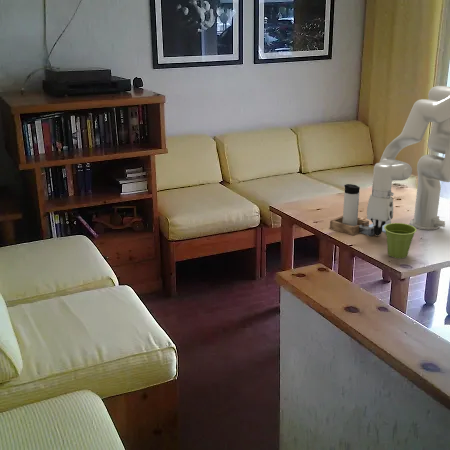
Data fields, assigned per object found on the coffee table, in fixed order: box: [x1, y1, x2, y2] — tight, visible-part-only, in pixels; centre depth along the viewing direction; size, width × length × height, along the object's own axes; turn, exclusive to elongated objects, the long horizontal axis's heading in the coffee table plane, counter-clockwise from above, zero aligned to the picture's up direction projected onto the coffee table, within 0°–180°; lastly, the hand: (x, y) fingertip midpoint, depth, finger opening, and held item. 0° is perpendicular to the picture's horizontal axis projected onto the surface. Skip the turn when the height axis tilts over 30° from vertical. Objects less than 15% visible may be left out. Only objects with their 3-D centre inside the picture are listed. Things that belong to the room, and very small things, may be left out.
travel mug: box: [342, 183, 361, 226], centre depth 241 cm, size 6×7×20 cm
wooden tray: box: [329, 215, 370, 236], centre depth 244 cm, size 12×11×4 cm
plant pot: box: [384, 222, 417, 259], centre depth 214 cm, size 12×12×11 cm
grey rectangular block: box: [358, 225, 375, 237], centre depth 238 cm, size 7×4×3 cm, turn 45°
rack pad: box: [369, 223, 387, 234], centre depth 245 cm, size 10×10×1 cm
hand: (377, 234), depth 235 cm, fingers closed
